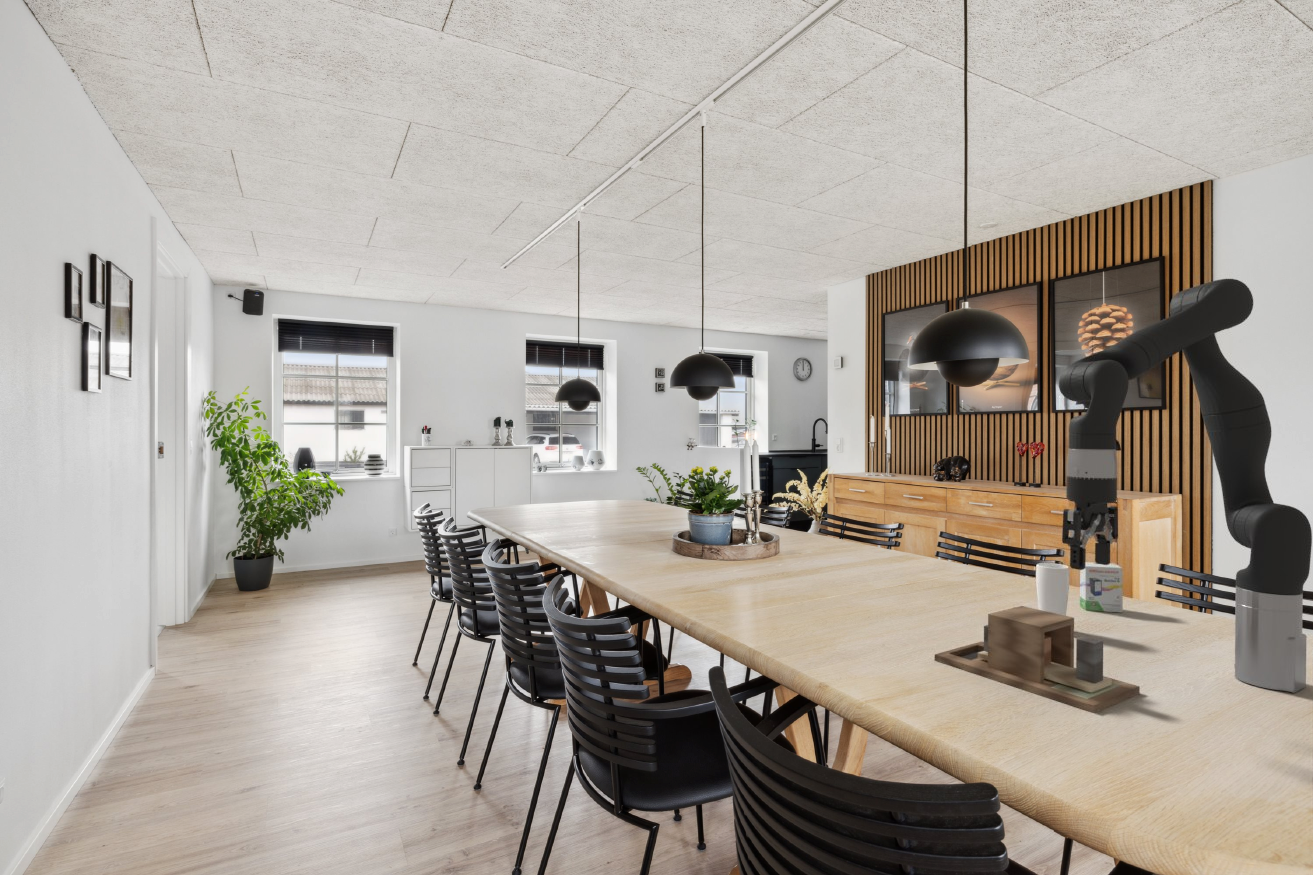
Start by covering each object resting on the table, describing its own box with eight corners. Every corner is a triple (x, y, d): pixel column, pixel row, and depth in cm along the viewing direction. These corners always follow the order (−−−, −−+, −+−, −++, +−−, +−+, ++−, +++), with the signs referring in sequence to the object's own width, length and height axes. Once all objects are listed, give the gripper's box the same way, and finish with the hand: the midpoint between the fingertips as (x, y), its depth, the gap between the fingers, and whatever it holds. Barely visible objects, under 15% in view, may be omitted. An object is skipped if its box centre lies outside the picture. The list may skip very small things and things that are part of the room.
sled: (1111, 684, 120) (1112, 639, 120) (1091, 692, 117) (1091, 646, 117) (998, 651, 138) (998, 612, 138) (977, 657, 134) (978, 617, 134)
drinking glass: (1060, 625, 162) (1060, 562, 162) (1074, 634, 155) (1075, 568, 155) (1030, 624, 163) (1030, 562, 162) (1043, 633, 156) (1044, 568, 156)
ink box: (1116, 608, 178) (1116, 563, 178) (1123, 613, 173) (1123, 567, 173) (1078, 605, 181) (1079, 561, 180) (1084, 610, 176) (1085, 565, 175)
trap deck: (1139, 693, 121) (1140, 629, 120) (1093, 712, 112) (1094, 644, 112) (981, 646, 146) (982, 594, 146) (934, 660, 138) (934, 604, 137)
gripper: (1093, 477, 113) (1092, 574, 113) (1134, 474, 120) (1133, 566, 121) (1047, 474, 119) (1046, 567, 119) (1089, 472, 127) (1088, 559, 127)
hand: (1090, 566), depth 120 cm, fingers open, 8 cm apart
